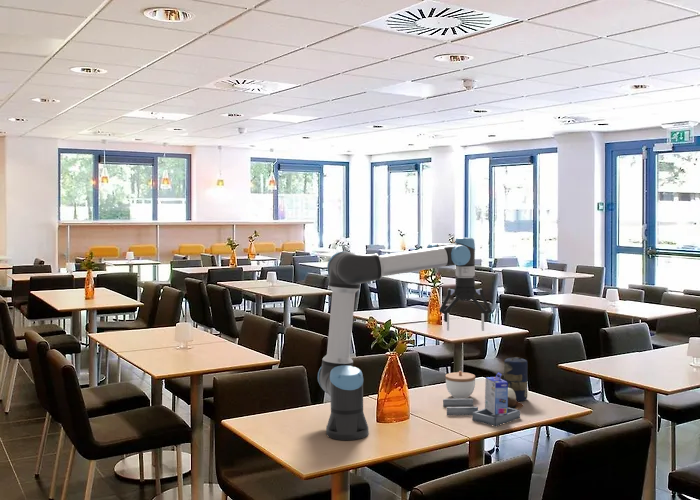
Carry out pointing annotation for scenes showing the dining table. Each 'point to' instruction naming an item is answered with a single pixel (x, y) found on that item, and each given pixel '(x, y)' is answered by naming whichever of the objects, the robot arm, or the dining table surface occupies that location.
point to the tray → (495, 416)
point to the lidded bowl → (460, 384)
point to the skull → (513, 400)
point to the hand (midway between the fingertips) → (465, 330)
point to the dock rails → (459, 406)
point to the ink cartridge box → (496, 395)
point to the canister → (516, 376)
